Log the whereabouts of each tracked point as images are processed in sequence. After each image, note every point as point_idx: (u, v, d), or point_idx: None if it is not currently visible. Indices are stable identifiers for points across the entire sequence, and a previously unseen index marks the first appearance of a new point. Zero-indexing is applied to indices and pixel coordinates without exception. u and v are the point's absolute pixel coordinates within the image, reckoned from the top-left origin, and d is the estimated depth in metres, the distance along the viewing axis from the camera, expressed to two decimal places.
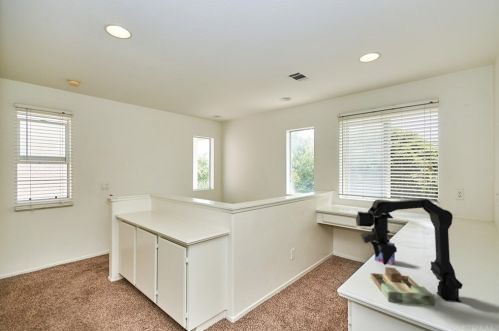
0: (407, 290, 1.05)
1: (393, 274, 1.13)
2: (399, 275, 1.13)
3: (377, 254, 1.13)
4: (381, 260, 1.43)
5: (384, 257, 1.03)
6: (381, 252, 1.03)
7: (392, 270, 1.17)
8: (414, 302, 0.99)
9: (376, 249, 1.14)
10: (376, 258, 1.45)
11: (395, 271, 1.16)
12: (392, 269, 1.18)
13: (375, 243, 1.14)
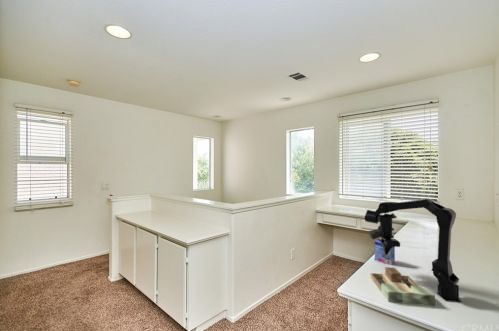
0: (407, 290, 1.05)
1: (393, 274, 1.13)
2: (399, 275, 1.13)
3: None
4: (381, 260, 1.43)
5: (385, 248, 1.24)
6: (383, 244, 1.23)
7: (392, 270, 1.17)
8: (414, 302, 0.99)
9: None
10: (376, 258, 1.45)
11: (395, 271, 1.16)
12: (392, 269, 1.18)
13: None
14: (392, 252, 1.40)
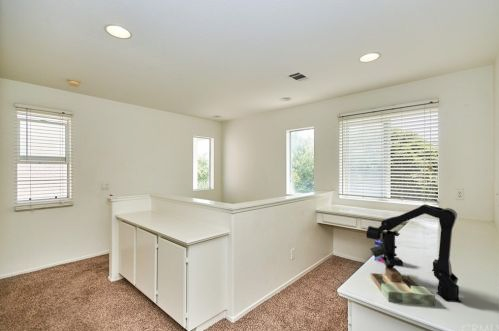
0: (407, 290, 1.05)
1: (393, 274, 1.13)
2: (399, 275, 1.13)
3: None
4: (381, 260, 1.43)
5: (388, 266, 1.21)
6: (385, 262, 1.20)
7: (392, 270, 1.17)
8: (414, 302, 0.99)
9: None
10: (376, 258, 1.45)
11: (395, 271, 1.16)
12: (392, 269, 1.18)
13: (387, 259, 1.23)
14: None
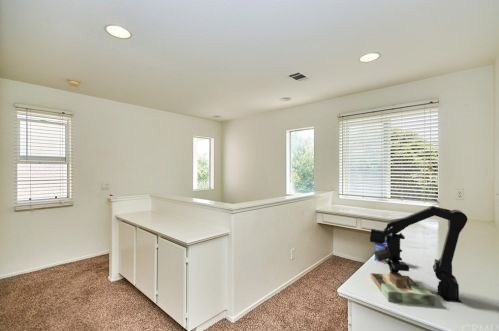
0: (407, 290, 1.05)
1: (398, 279, 1.08)
2: (404, 281, 1.07)
3: None
4: None
5: (393, 271, 1.15)
6: (390, 266, 1.14)
7: (396, 275, 1.11)
8: (414, 302, 0.99)
9: None
10: None
11: (400, 276, 1.10)
12: (397, 274, 1.12)
13: (391, 264, 1.17)
14: None
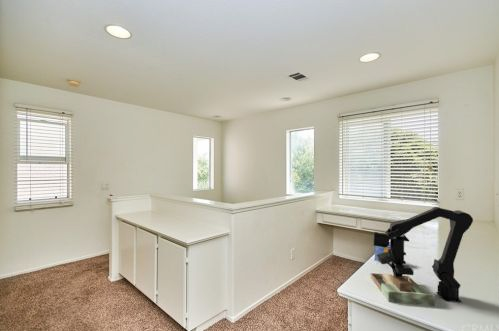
0: None
1: (402, 283, 1.04)
2: (408, 285, 1.04)
3: None
4: None
5: (396, 274, 1.11)
6: (394, 270, 1.11)
7: (400, 279, 1.07)
8: (414, 302, 0.99)
9: None
10: (376, 258, 1.45)
11: (404, 280, 1.06)
12: (401, 278, 1.09)
13: (395, 267, 1.13)
14: None
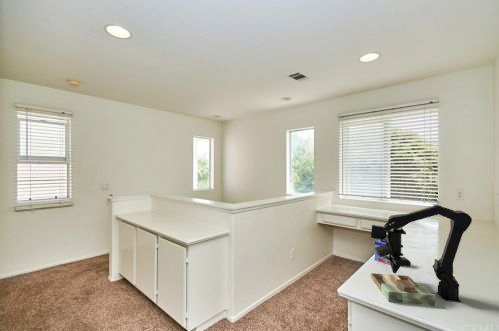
0: None
1: (406, 288, 1.01)
2: (413, 289, 1.00)
3: None
4: (381, 260, 1.43)
5: (394, 267, 1.14)
6: (391, 262, 1.13)
7: (404, 283, 1.04)
8: (414, 302, 0.99)
9: None
10: (376, 258, 1.45)
11: (408, 284, 1.03)
12: (404, 282, 1.05)
13: (392, 259, 1.16)
14: None
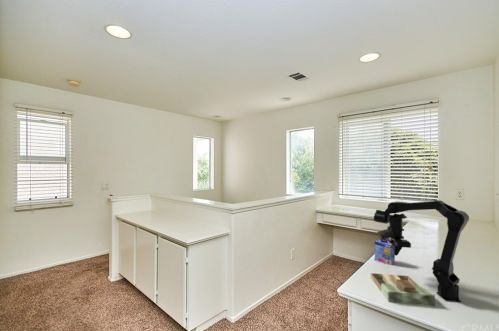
0: None
1: (406, 288, 1.01)
2: (413, 289, 1.00)
3: None
4: (381, 260, 1.43)
5: (395, 249, 1.21)
6: (393, 245, 1.20)
7: (404, 283, 1.04)
8: (414, 302, 0.99)
9: None
10: (376, 258, 1.45)
11: (408, 284, 1.03)
12: (404, 282, 1.05)
13: (394, 242, 1.23)
14: (392, 252, 1.40)
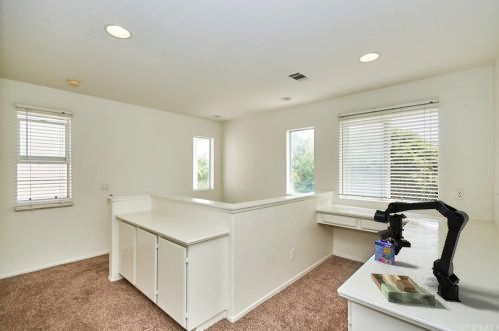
0: None
1: (406, 288, 1.01)
2: (413, 289, 1.00)
3: None
4: (381, 260, 1.43)
5: (395, 249, 1.21)
6: (393, 245, 1.20)
7: (404, 283, 1.04)
8: (414, 302, 0.99)
9: None
10: (376, 258, 1.45)
11: (408, 284, 1.03)
12: (404, 282, 1.05)
13: (394, 242, 1.23)
14: (392, 252, 1.40)
